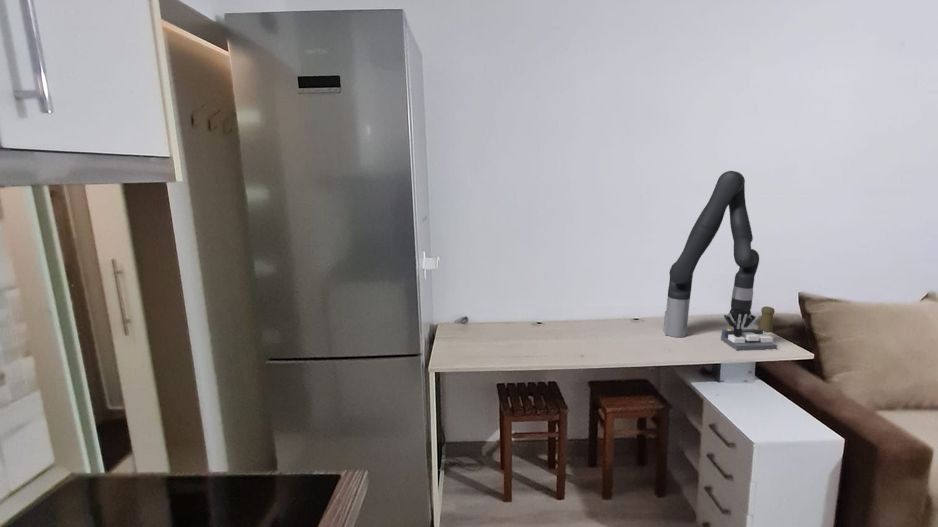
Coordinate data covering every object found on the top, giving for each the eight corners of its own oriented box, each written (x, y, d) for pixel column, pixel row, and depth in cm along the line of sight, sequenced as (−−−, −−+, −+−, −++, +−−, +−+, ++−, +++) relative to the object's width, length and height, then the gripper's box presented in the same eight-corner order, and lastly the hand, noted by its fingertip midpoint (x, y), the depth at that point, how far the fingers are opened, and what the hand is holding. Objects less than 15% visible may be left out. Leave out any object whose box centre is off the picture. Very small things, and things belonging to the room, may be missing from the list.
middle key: (748, 340, 208) (748, 336, 208) (741, 336, 213) (742, 332, 212) (758, 340, 209) (759, 336, 208) (752, 336, 213) (752, 332, 213)
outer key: (761, 342, 209) (762, 338, 209) (754, 338, 213) (755, 334, 213) (772, 342, 209) (772, 337, 209) (765, 338, 214) (765, 333, 213)
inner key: (734, 343, 208) (734, 338, 208) (727, 339, 213) (728, 334, 212) (744, 342, 209) (745, 338, 208) (738, 338, 213) (738, 334, 213)
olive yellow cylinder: (774, 332, 227) (778, 309, 224) (760, 331, 228) (763, 308, 225) (769, 328, 232) (773, 305, 230) (755, 327, 234) (758, 304, 231)
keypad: (736, 350, 206) (738, 338, 205) (720, 339, 218) (722, 328, 217) (776, 349, 207) (778, 337, 206) (758, 339, 219) (759, 327, 218)
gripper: (732, 300, 202) (727, 340, 206) (763, 299, 203) (757, 339, 207) (721, 294, 210) (717, 333, 213) (751, 294, 210) (746, 333, 214)
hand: (737, 336), depth 210 cm, fingers closed
